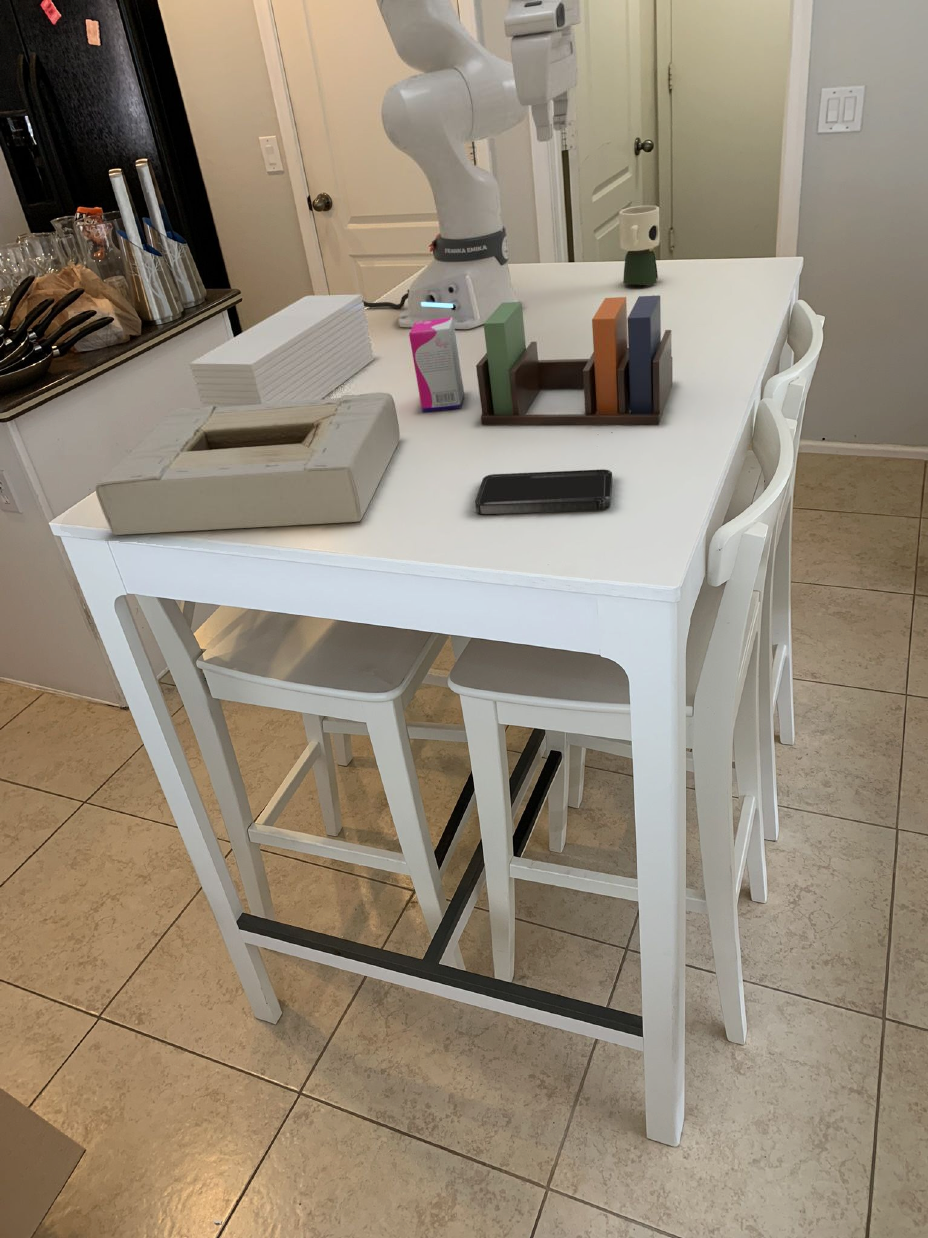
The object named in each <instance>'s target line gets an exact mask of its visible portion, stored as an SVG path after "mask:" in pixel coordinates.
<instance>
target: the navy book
mask: <svg viewBox="0 0 928 1238" xmlns="http://www.w3.org/2000/svg"><path fill="white" fill-rule="evenodd" d="M661 310H662V309H661V295H660V294H659V295H640V296H638V297H637V299H636V301H635V303H634V305H633V307H632V309H631V311H630V312H629V315H627V337H628V351H629V384H630V412H629V414H654V412H653V360H654V357H655V355H656V353H657V350H658V348H659V345H660V343H661V340H662V332H661V331H662V329H661V328H662V326H661V325H662V324H661V322H662V319H661V317H662V316H661V315H662V313H661V312H662V311H661Z"/></svg>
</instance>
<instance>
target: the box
mask: <svg viewBox="0 0 928 1238" xmlns="http://www.w3.org/2000/svg"><path fill="white" fill-rule="evenodd" d="M400 433H401V431H400V424H399V419H398V413H397V407H396V403H395V400H394V397H393V396H392V394H390V393H388V392H369V393H362V394H343V395H341V397H333V398H322V399H319V400H307V401H293V402H282V403H268V404H256V405H244V406H230V407H216V406H206V407H202V406H189V407H180V408H179V407H178V408H174V409H170V411H168V413H167V414H166V415H165V417H164V418H163V419H162V420H161V421H160V422H159V423H158V424H157V425H156V426H155V427H154V428H153V429H152V430H151V431H149V433H148V434H147V435H146V436H145V437H143V439H142V440H141V441H140V442H139V443H137V445H136V446H135V447H134V448H133V449H132V450H130V452H129V453H127V455H126V456H124V458H123V459H121V461H119V462H118V463H117V464H116V465H115V466H114V467H113V468H112V469H111V470H110V471H109V472H108V473H106V474H105V475H104V476H103V477H102V478H101V479H99V481H98V482H97V483H96V484H95V494H96V497H97V500H98V504H99V506H100V508H101V511H102V514H103V516H104V519H105V520H106V523H107V524H108V527H109V529H110V531H111V533H113V534H114V535H116V536H120V535H138V534H158V533H177V532H193V531H211V530H213V531H214V530H231V529H244V528H245V529H249V528H250V529H251V528H265V527H287V526H304V525H305V526H307V525H323V524H338V523H339V524H341V523H356V522H360V521H362V520H363V519H362V518H363V517H364V515H365V513H366V511H367V509H368V507H369V505H370V503H371V501H372V498H373V497H374V494H375V493H376V490H377V488H378V486H379V484H380V482H381V480H382V478H383V476H384V474H385V472H386V470H387V468H388V465H389V463H390V462H391V459H392V457H393V455H394V454H395V451H396V449H397V446H398V445H399V443H400V437H401V435H400Z"/></svg>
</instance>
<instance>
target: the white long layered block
mask: <svg viewBox="0 0 928 1238" xmlns="http://www.w3.org/2000/svg"><path fill="white" fill-rule="evenodd" d="M362 300H363V301H364V298H363V294H323V295H316V294H315V295H305V296H303V297H302V298H300V299H298V300H297V301H294V302H293V303H291V304H289V305H288V306H286V307H284V308H282V309H281V310H279V311H278V312H276V313H274V314H272V315H270V316H268V317H267V318H265V319H263V320H262V321H260V322H258V323H256V324H255V325H253V326H251V327H250V328H248V329H246V330H244V331H243V332H241V333H239V334H238V335H236V336H234V337H232V338H231V339H228V340H227V341H225V342H223V343H221V344H220V345H219V346H216V347H215V348H213V349H211V350H210V351H208V352H207V353H204V354H203V355H201V356H200V357H198V358H196V359H194V360H192V361H191V362H189V363H188V365H189V368H190V370H191V374H192V376H193V380H194V383H195V387H196V390H197V394H198V396H199V401H200V402H201V407H206V406H216V407H230V406H244V405H256V404H268V403H282V402H293V401H307V400H319V399H324V398H325V397H326V396H328V395H329V394H330V393H331V392H332V391H334V390H335V389H337V388H338V387H339V386H341V385H342V384H343V383H345V382H346V381H348V380H349V379H350V378H351V377H352V376H354V375H355V374H357V373H358V372H359V371H360V370H362V369H363V368H365V367H366V366H367V365H368V364H370V363H371V362H372V361H374V360H375V356H374V354H373V353H374V351H373V348H372V342H371V337H370V331H369V324H368V320H367V315H366V314H367V313H366V308H365V306H364V303H363V301H362Z"/></svg>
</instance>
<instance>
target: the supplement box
mask: <svg viewBox="0 0 928 1238" xmlns="http://www.w3.org/2000/svg"><path fill="white" fill-rule="evenodd" d="M408 337H409V343H410V347H411V354H412V360H413V366H414V370H415V376H416V383H417V389H418V395H419V401H420V406H421V411H422V413H429V412H430V413H431V412H437V411H438V412H439V411H446V410H447V411H448V410H459V409H462V406H463V401H464V397H465V389H464V382H463V378H462V377H463V376H462V369H461V362H460V356H459V348H458V342H457V341H458V340H457V335H456V329H455V327H454V321H453V317H451V318H443V319H435V320H427V321H419V322H415V323H414V325H413V327H411V329H410V331H409V333H408Z"/></svg>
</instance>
